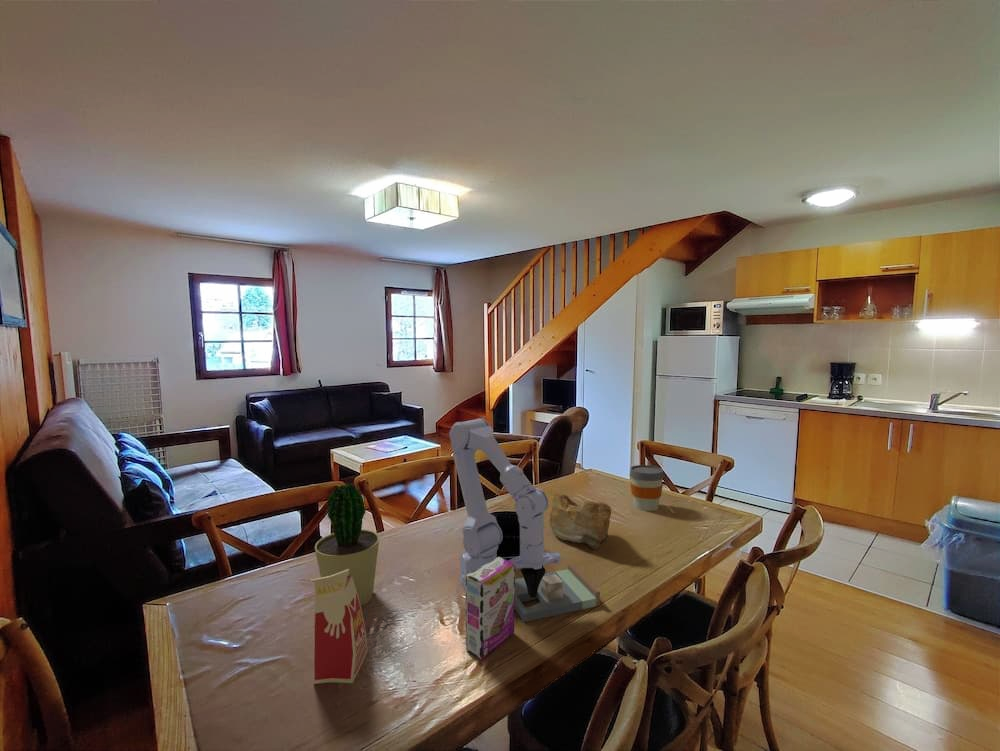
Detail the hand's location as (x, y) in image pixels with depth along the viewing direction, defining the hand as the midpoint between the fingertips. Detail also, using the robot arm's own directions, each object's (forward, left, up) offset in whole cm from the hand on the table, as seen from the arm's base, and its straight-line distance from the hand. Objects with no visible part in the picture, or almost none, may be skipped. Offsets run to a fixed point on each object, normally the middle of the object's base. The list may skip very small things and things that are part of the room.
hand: (532, 595), depth 108 cm
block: (+5, 0, -1) cm, 5 cm away
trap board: (+6, +3, -3) cm, 7 cm away
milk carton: (-44, -6, -3) cm, 45 cm away
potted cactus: (-42, +19, -3) cm, 46 cm away
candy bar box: (-13, -9, -3) cm, 16 cm away
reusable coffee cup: (+68, +47, -3) cm, 83 cm away
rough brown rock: (+32, +29, -3) cm, 43 cm away
